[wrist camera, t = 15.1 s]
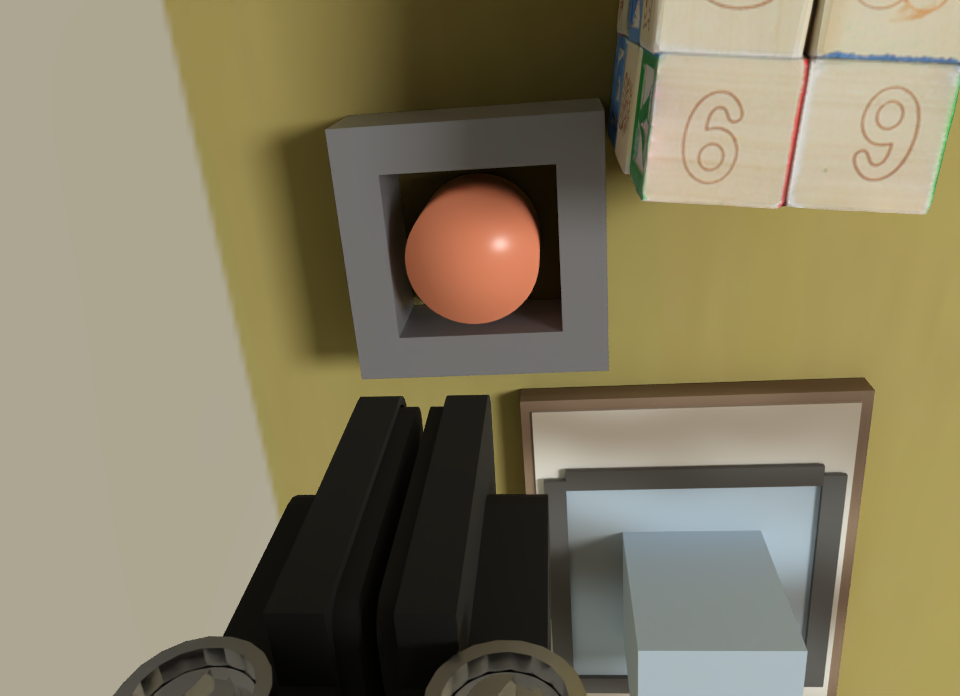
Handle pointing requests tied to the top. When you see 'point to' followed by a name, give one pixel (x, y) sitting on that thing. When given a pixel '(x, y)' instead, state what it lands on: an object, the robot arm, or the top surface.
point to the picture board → (697, 498)
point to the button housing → (382, 243)
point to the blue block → (707, 617)
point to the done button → (475, 249)
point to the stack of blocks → (786, 101)
